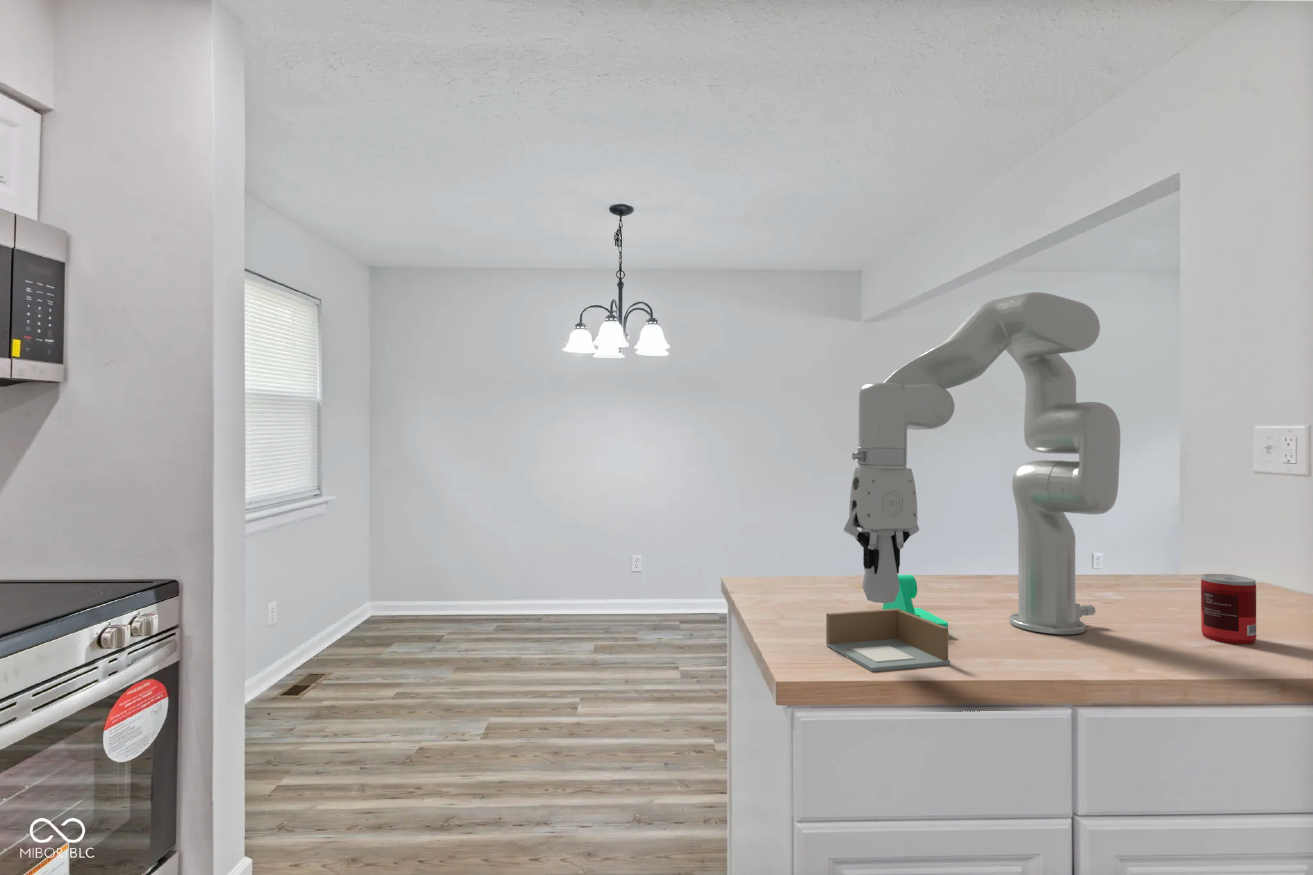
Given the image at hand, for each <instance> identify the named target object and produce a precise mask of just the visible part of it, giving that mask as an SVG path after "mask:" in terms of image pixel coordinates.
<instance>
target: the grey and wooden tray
mask: <svg viewBox="0 0 1313 875" xmlns="http://www.w3.org/2000/svg"><path fill="white" fill-rule="evenodd" d="M825 614H826V618H825V619H826V620H825V621H826V626H825V627H826V631H825V632H826V634H825V635H826V643H825V644H826V645H827V646H828V648H829V647H831V648H832V649H831V648H830V649H831V650H833V649H834V650H835V651H834V650H833V651H834V652H836V651H838V652H839V653H838V652H837V653H838V654H840V653H841V654H840V655H842V654H843V655H844V656H843V655H842V656H843V657H845V656H847V657H848V658H847V657H846V658H847V659H849V658H850V659H851V661H852V660H853V661H852V662H854V661H855V662H854V663H856V664H857V663H858V665H859V666H861V667H863V668H865V669H866V670H868V671H870V672H881V671H882V672H883V671H893V670H902V669H903V670H905V669H915V668H924V667H925V668H926V667H938V666H946V665H951V660H950V659H949V627H948V628H947V627H944V626H942V625H939V624H936V623H934V622H931V621H929V620H926V619H924V618H921V617H918V616H916V615H913V614H911V613H908V612H905V611H901V610H900V609H883V610H882V609H872V610H871V609H870V610H857V611H842V612H841V611H840V612H826V613H825ZM827 646H826V647H827ZM850 659H849V660H850Z"/></svg>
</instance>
